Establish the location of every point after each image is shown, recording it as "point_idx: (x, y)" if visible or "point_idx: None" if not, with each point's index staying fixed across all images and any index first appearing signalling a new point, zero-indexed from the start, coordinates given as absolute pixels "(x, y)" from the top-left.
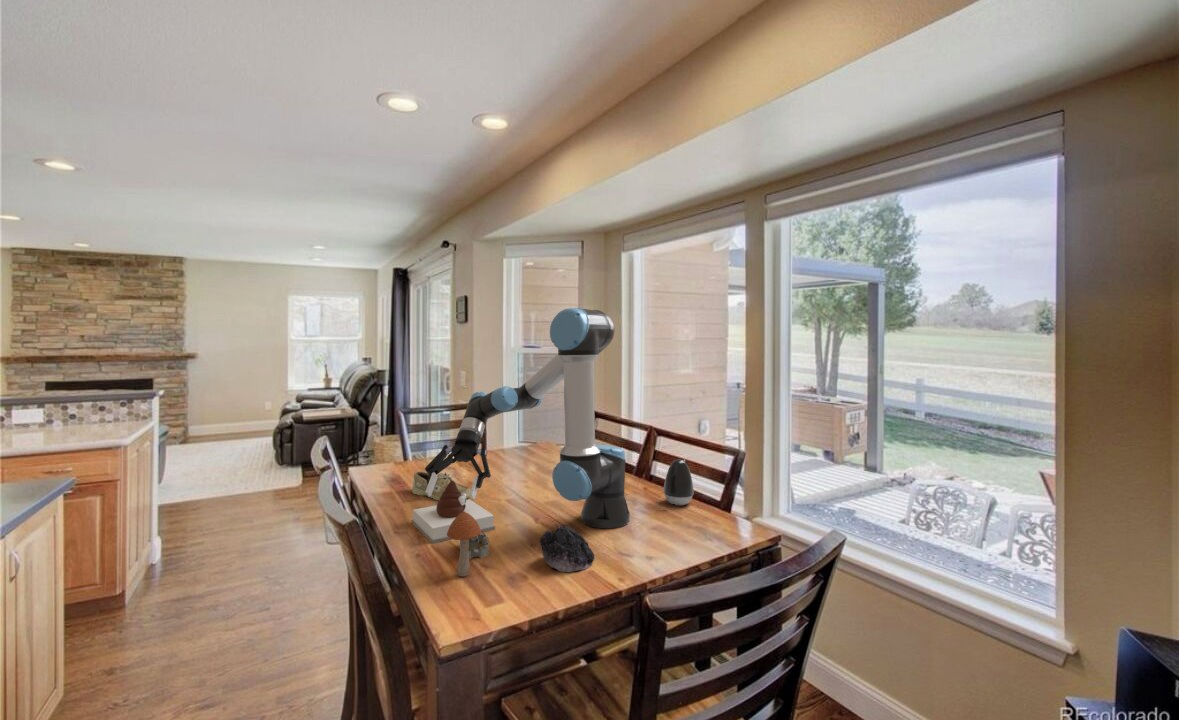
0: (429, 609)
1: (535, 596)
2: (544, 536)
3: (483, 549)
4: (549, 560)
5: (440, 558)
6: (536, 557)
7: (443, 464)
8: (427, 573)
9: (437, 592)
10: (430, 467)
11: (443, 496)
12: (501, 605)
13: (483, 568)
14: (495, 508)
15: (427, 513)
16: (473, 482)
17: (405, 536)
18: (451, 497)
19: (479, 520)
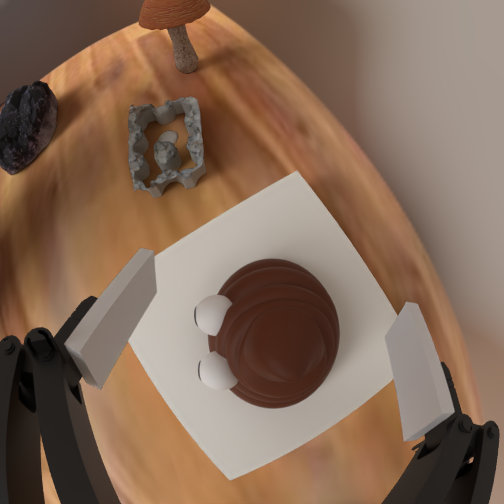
0: (225, 19)
1: (101, 53)
2: (38, 87)
3: (145, 110)
4: (52, 109)
5: (244, 113)
6: (62, 139)
7: (411, 499)
8: (254, 69)
9: (223, 37)
10: (478, 448)
11: (314, 293)
12: (141, 34)
13: (153, 88)
14: (154, 471)
15: (363, 320)
16: (111, 304)
17: (382, 240)
18: (266, 285)
19: None
